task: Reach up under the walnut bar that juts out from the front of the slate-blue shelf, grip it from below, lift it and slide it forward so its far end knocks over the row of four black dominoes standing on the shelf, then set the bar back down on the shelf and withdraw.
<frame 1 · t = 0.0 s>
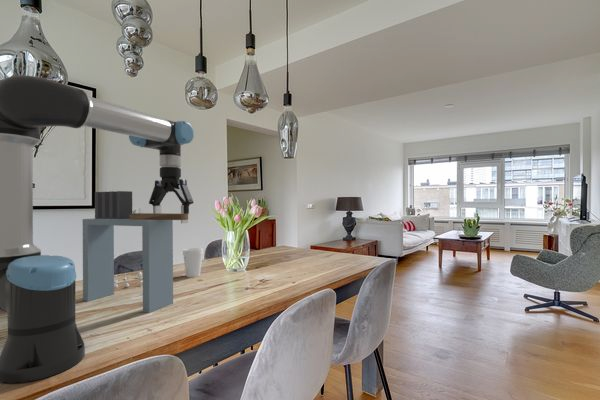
hand: (170, 222, 120), 28 cm above the table, tool pointing down, fingers open, 13 cm apart
domino 3: (110, 218, 118), point 30 cm above the table, touching slate shelf
domino 2: (117, 218, 116), point 30 cm above the table, touching slate shelf
foam cup: (193, 276, 154), on the table
domino 1: (124, 218, 114), point 30 cm above the table, touching slate shelf
domino 4: (102, 218, 119), point 30 cm above the table, touching slate shelf
slate shelf: (127, 301, 114), on the table
walnut bar: (157, 219, 108), point 30 cm above the table, touching slate shelf
game piece set: (134, 283, 142), on the table
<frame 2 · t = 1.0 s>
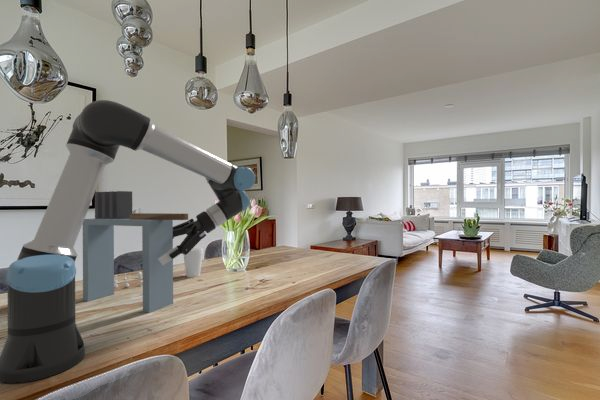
hand: (156, 254, 106), 18 cm above the table, tool tilted 60°, fingers open, 13 cm apart
nothing on the table moved.
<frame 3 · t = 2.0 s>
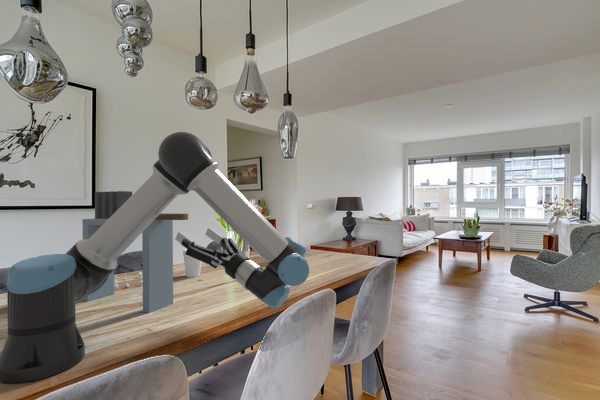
hand: (193, 232, 101), 26 cm above the table, tool pointing upward, fingers open, 13 cm apart
nothing on the table moved.
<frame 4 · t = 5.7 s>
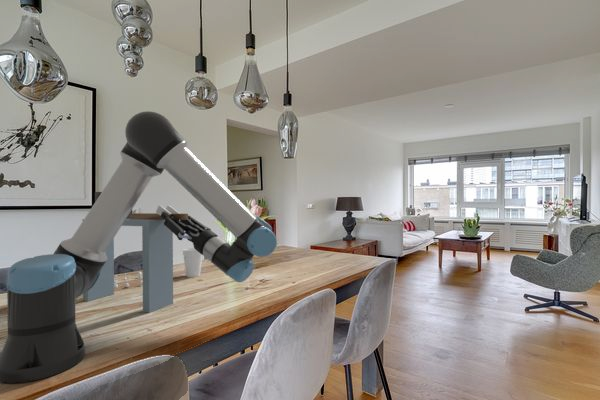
hand: (162, 208, 107), 34 cm above the table, tool pointing upward, fingers closed on walnut bar, 3 cm apart
walnut bar: (157, 219, 108), point 30 cm above the table, touching gripper, slate shelf
everything else where it was.
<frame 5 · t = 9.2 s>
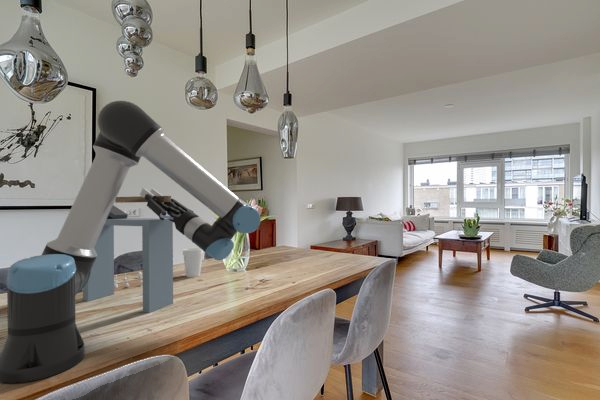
hand: (146, 191, 110), 40 cm above the table, tool pointing upward, fingers closed on walnut bar, 3 cm apart
domino 3: (101, 212, 120), point 32 cm above the table, tilted 112°, touching domino 2, slate shelf
domino 2: (113, 216, 117), point 31 cm above the table, tilted 65°, touching domino 1, domino 3, slate shelf
domino 1: (121, 216, 115), point 31 cm above the table, tilted 66°, touching domino 2, slate shelf
domino 4: (60, 290, 130), on the table, tilted 89°
walnut bar: (142, 202, 111), point 36 cm above the table, touching gripper
everything else where it was.
when the fingers open (34 cm above the table, at t = 13.3 s): walnut bar stays where it is, resting on slate shelf.
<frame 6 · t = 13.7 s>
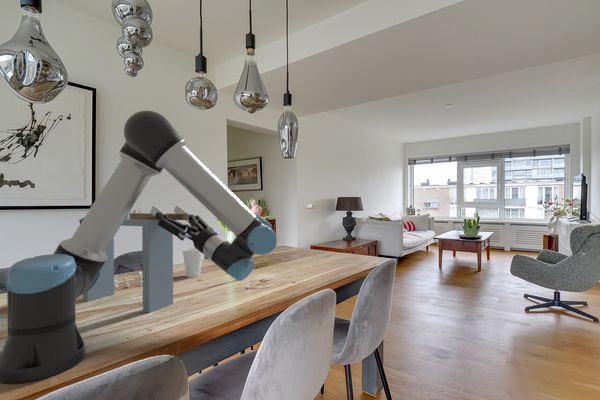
hand: (164, 208, 107), 34 cm above the table, tool pointing upward, fingers open, 9 cm apart
walnut bar: (158, 219, 108), point 30 cm above the table, touching slate shelf
everything else where it was.
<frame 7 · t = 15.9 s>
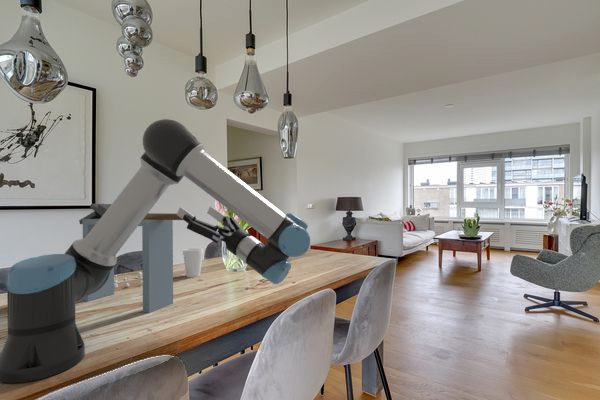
hand: (195, 210, 101), 33 cm above the table, tool pointing upward, fingers open, 13 cm apart
nothing on the table moved.
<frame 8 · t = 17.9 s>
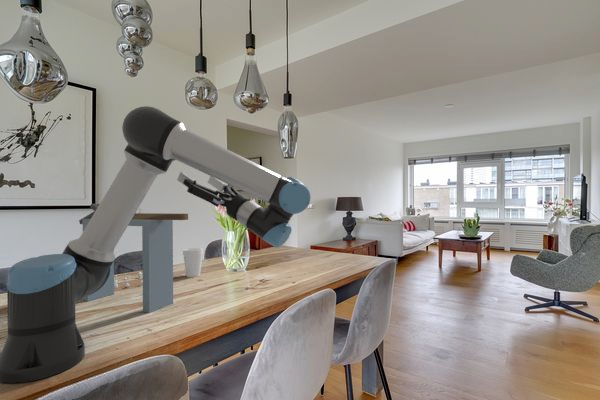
hand: (195, 177, 101), 44 cm above the table, tool pointing upward, fingers open, 13 cm apart
nothing on the table moved.
at the end: domino 4 tilted 90°; walnut bar inside the target area (0.0 cm from its centre), point 30.0 cm above the table; the gripper is holding nothing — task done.
